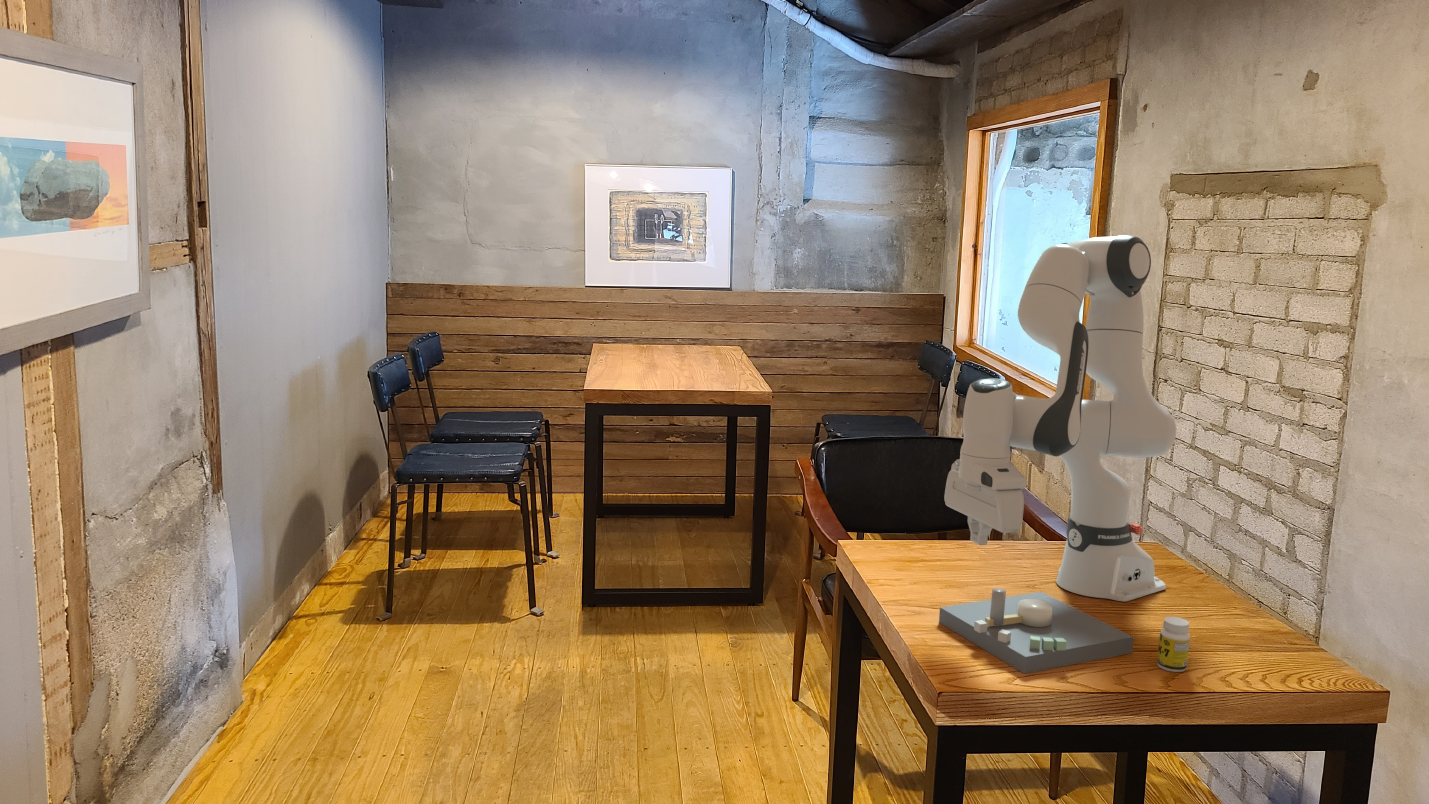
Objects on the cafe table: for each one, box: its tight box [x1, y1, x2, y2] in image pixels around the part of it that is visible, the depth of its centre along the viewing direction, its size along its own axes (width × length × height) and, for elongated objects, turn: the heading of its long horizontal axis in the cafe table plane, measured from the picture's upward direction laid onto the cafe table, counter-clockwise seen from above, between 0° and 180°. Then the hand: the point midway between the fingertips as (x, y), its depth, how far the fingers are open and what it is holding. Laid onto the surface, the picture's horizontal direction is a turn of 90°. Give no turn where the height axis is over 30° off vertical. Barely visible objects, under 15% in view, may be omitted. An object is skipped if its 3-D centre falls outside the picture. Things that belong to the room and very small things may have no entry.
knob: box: [985, 587, 1053, 627], centre depth 197 cm, size 13×6×6 cm, turn 109°
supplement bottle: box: [1156, 616, 1191, 673], centre depth 187 cm, size 5×5×8 cm
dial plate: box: [938, 591, 1134, 675], centre depth 199 cm, size 25×24×5 cm
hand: (978, 543), depth 200 cm, fingers closed
